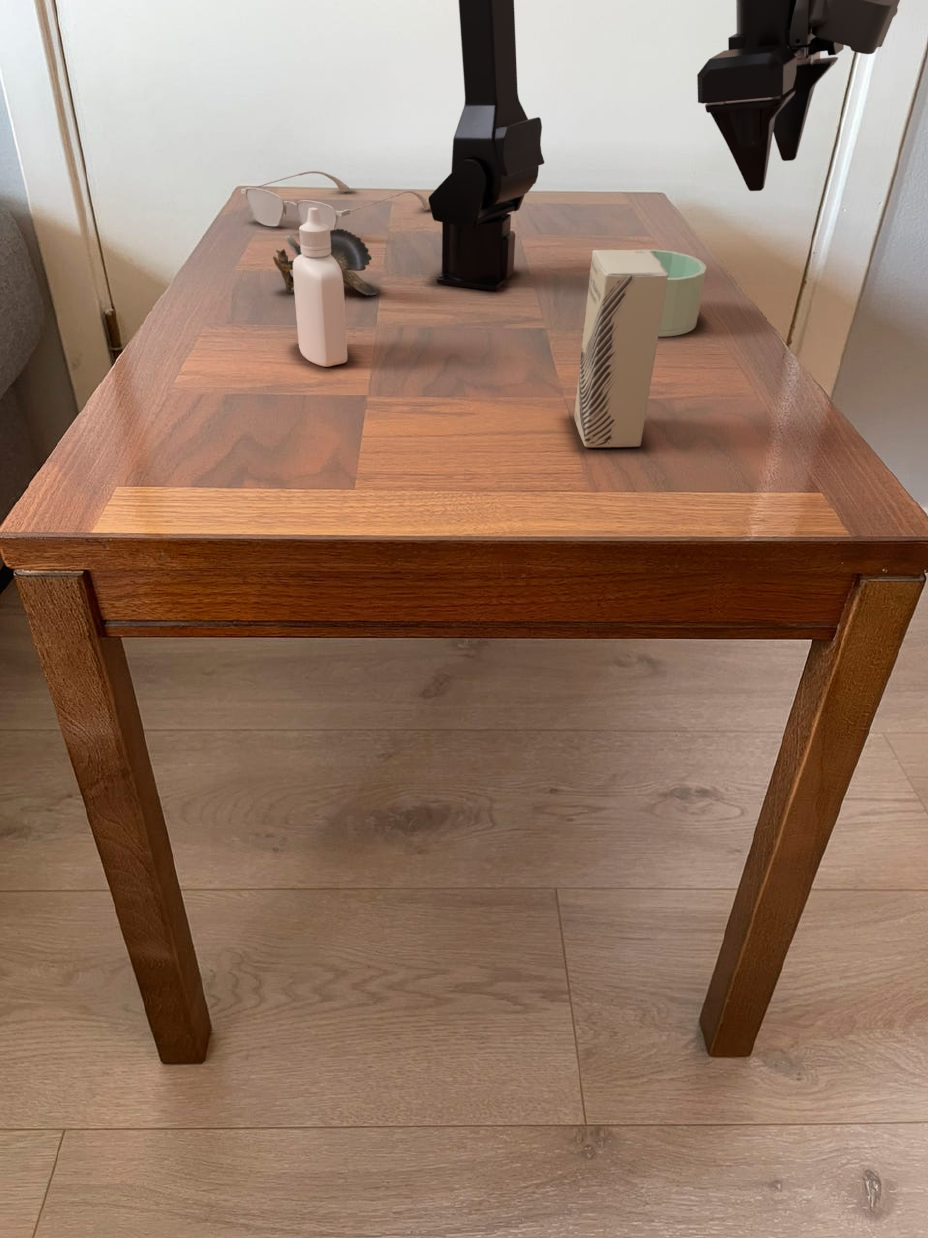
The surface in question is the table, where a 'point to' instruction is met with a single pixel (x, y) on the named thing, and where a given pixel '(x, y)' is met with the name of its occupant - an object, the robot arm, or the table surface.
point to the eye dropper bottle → (319, 296)
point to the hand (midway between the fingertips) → (773, 174)
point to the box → (619, 346)
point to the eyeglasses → (300, 204)
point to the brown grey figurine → (343, 250)
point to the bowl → (681, 292)
